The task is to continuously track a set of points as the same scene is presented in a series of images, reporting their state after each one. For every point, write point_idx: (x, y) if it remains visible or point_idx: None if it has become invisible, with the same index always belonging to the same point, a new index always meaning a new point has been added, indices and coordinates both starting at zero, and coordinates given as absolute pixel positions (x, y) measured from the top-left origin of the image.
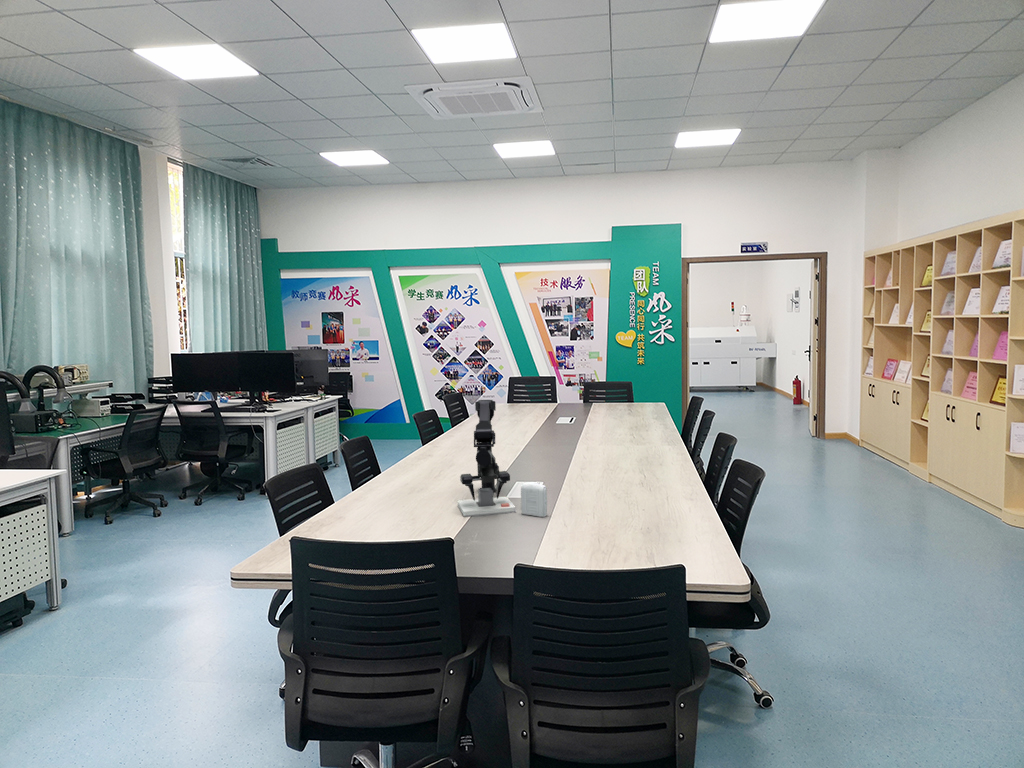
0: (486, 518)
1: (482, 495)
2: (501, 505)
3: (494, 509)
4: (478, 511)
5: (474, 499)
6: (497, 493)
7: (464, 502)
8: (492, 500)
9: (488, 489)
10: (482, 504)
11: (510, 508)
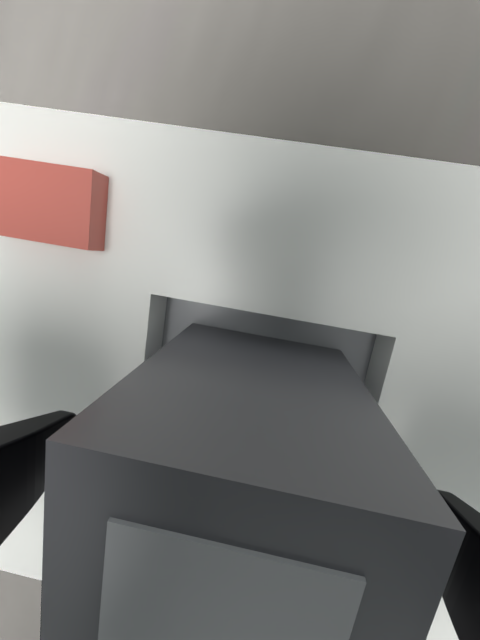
0: (401, 11)
1: (357, 442)
2: (97, 198)
3: (231, 135)
4: (469, 170)
5: (446, 496)
6: (3, 445)
7: None
8: (171, 352)
9: (132, 618)
10: (328, 366)
11: (17, 109)
